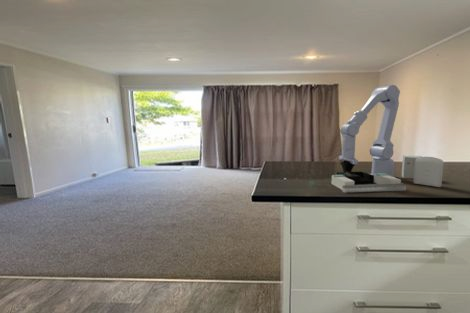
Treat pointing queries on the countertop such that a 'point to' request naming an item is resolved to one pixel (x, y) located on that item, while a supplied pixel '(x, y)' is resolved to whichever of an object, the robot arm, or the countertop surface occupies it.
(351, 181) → the block
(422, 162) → the photo printer
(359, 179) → the battery charger
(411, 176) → the small box
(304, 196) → the countertop surface
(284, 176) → the countertop surface
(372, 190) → the rail
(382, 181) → the block
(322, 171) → the countertop surface
